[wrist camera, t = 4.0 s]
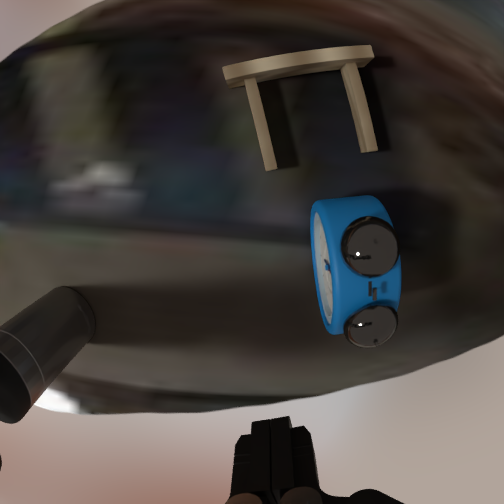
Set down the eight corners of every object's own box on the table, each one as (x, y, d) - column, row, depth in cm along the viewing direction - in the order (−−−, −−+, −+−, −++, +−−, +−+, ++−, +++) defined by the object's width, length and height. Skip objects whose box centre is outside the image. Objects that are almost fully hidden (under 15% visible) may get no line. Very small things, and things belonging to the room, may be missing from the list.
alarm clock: (305, 194, 36) (333, 214, 21) (357, 189, 35) (414, 206, 21) (314, 301, 39) (339, 373, 24) (362, 295, 38) (408, 360, 24)
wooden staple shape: (250, 174, 35) (248, 175, 31) (226, 77, 32) (222, 67, 28) (384, 149, 34) (397, 147, 30) (360, 55, 31) (370, 45, 27)
